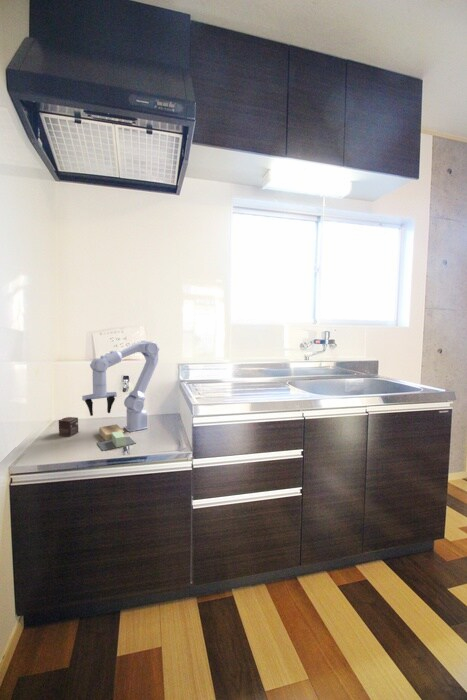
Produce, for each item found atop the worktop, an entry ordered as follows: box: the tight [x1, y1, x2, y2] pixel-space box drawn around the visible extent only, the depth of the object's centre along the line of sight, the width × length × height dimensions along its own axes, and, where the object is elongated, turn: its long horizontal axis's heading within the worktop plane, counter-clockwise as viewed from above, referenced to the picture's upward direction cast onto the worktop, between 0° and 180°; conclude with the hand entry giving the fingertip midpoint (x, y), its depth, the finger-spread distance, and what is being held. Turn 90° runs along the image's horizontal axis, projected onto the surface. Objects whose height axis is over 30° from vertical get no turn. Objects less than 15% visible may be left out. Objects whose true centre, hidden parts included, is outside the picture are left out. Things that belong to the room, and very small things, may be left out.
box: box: [58, 416, 79, 437], centre depth 155 cm, size 6×6×7 cm
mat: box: [96, 436, 137, 452], centre depth 145 cm, size 14×10×1 cm
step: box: [98, 424, 125, 441], centre depth 154 cm, size 8×12×3 cm, turn 35°
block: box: [112, 431, 127, 448], centre depth 144 cm, size 4×4×8 cm
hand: (100, 413), depth 153 cm, fingers open, 7 cm apart
